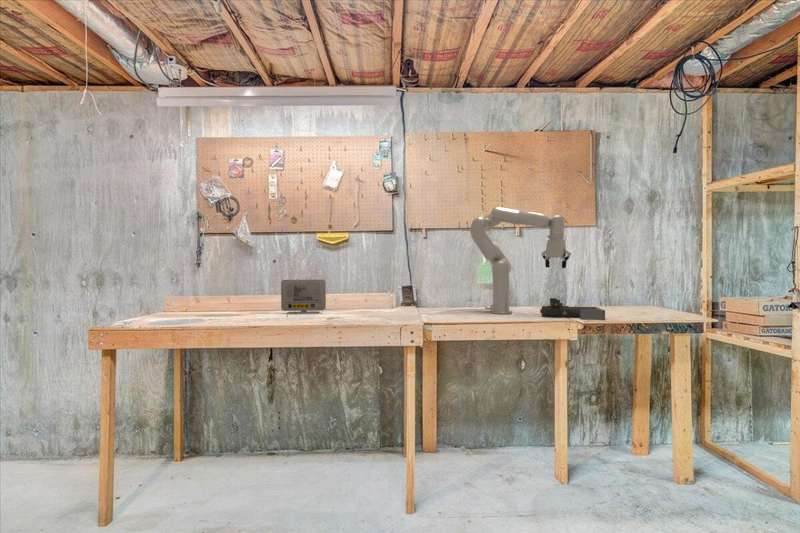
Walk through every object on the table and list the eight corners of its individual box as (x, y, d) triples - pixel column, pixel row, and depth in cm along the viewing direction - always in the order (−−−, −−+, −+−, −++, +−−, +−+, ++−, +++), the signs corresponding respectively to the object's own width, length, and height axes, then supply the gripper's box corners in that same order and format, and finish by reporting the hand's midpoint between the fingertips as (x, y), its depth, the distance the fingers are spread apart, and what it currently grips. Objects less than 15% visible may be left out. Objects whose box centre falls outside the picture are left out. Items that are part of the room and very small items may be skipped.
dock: (580, 319, 219) (580, 309, 219) (573, 315, 235) (573, 306, 235) (605, 319, 216) (605, 310, 216) (596, 315, 233) (596, 306, 233)
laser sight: (585, 318, 222) (585, 300, 221) (541, 317, 226) (541, 299, 226) (581, 316, 231) (581, 298, 231) (539, 315, 235) (539, 298, 235)
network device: (326, 312, 252) (326, 279, 251) (324, 314, 243) (324, 279, 243) (283, 312, 250) (283, 279, 250) (280, 314, 241) (280, 280, 241)
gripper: (539, 237, 238) (538, 267, 238) (568, 236, 225) (567, 268, 225) (545, 238, 243) (544, 267, 243) (574, 237, 230) (573, 268, 230)
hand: (555, 267), depth 234 cm, fingers open, 9 cm apart
